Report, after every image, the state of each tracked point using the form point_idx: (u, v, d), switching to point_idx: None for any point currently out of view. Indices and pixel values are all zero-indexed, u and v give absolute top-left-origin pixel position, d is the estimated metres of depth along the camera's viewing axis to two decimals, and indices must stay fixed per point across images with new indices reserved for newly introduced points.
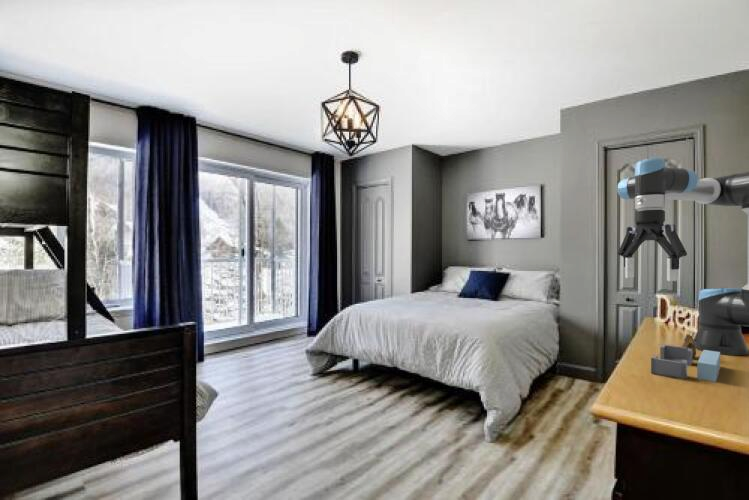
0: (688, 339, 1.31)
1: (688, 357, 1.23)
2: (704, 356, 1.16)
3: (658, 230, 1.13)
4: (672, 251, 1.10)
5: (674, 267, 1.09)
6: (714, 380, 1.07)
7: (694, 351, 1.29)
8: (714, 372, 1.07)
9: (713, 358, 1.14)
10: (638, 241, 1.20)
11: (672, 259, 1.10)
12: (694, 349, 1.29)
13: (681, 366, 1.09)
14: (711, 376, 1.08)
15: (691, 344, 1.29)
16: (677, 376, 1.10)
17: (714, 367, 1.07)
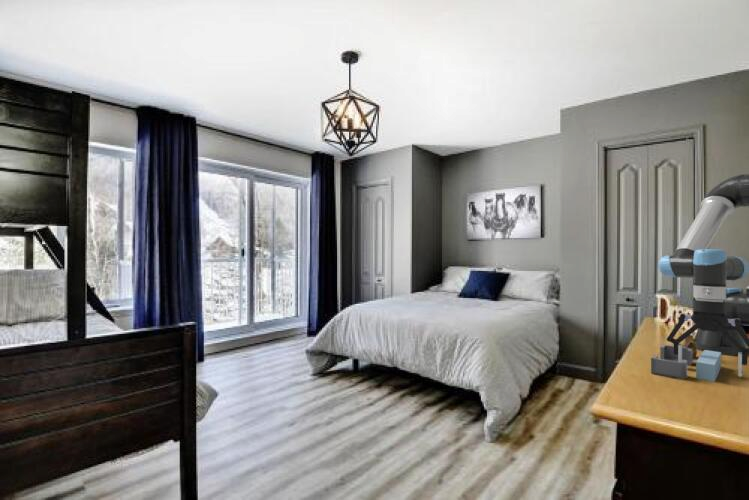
0: (689, 339, 1.31)
1: (688, 357, 1.23)
2: (704, 356, 1.16)
3: (725, 323, 1.12)
4: (742, 346, 1.10)
5: (746, 363, 1.09)
6: (713, 380, 1.07)
7: (695, 351, 1.29)
8: (713, 372, 1.07)
9: (713, 358, 1.14)
10: None
11: (743, 354, 1.10)
12: (695, 349, 1.29)
13: (681, 366, 1.09)
14: (710, 376, 1.08)
15: (692, 344, 1.30)
16: (677, 376, 1.10)
17: (713, 367, 1.07)
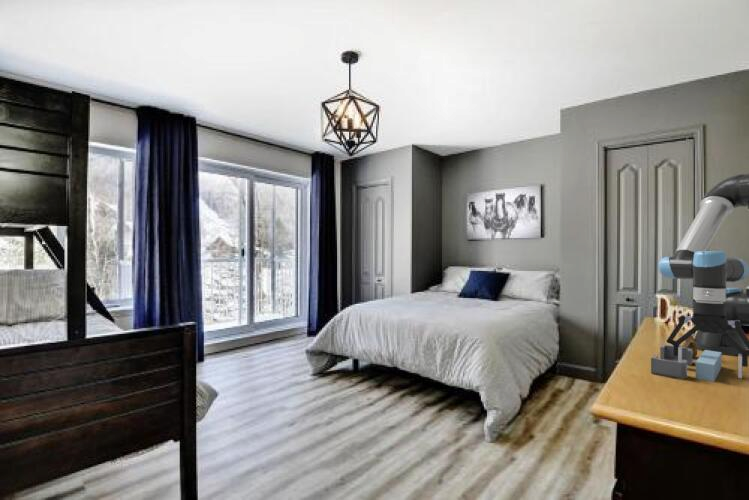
0: (689, 339, 1.31)
1: (688, 357, 1.23)
2: (704, 356, 1.16)
3: (725, 325, 1.12)
4: (742, 348, 1.10)
5: (746, 364, 1.09)
6: (712, 380, 1.07)
7: (695, 351, 1.29)
8: (712, 372, 1.07)
9: (713, 358, 1.14)
10: None
11: (743, 356, 1.10)
12: (695, 349, 1.29)
13: (681, 366, 1.09)
14: (709, 376, 1.08)
15: (692, 344, 1.30)
16: (677, 376, 1.10)
17: (712, 367, 1.07)
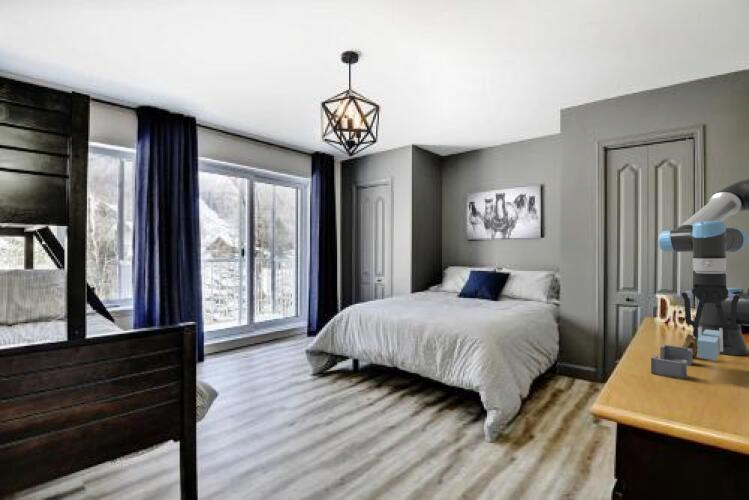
0: (690, 339, 1.31)
1: (688, 357, 1.23)
2: (705, 335, 1.16)
3: (723, 295, 1.13)
4: (726, 322, 1.13)
5: (726, 338, 1.13)
6: (714, 357, 1.07)
7: (695, 351, 1.29)
8: (714, 349, 1.07)
9: (714, 336, 1.14)
10: (703, 305, 1.16)
11: (724, 330, 1.13)
12: (695, 349, 1.29)
13: (681, 366, 1.09)
14: (711, 353, 1.08)
15: (692, 344, 1.30)
16: (677, 376, 1.10)
17: (714, 344, 1.07)
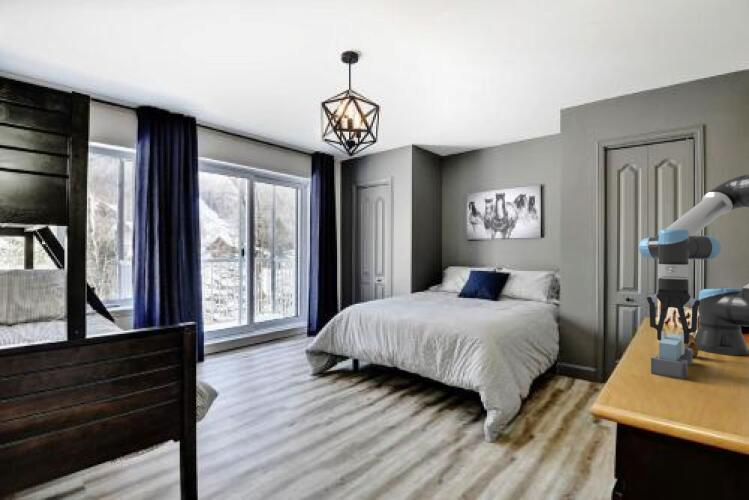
0: (690, 339, 1.31)
1: (688, 357, 1.23)
2: (668, 338, 1.20)
3: (685, 300, 1.17)
4: (687, 327, 1.17)
5: (687, 342, 1.17)
6: (674, 359, 1.11)
7: (696, 351, 1.30)
8: (674, 352, 1.11)
9: (676, 340, 1.18)
10: (667, 309, 1.20)
11: (685, 334, 1.17)
12: (696, 349, 1.30)
13: (681, 366, 1.09)
14: (672, 355, 1.12)
15: (693, 344, 1.30)
16: (677, 376, 1.10)
17: (674, 347, 1.11)
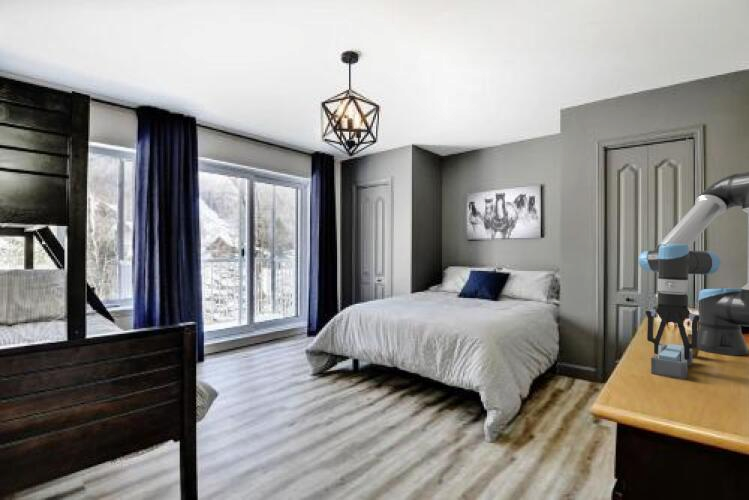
0: (691, 339, 1.31)
1: None
2: (667, 349, 1.20)
3: (685, 315, 1.17)
4: (688, 342, 1.17)
5: (687, 357, 1.17)
6: None
7: (697, 350, 1.30)
8: None
9: (675, 351, 1.18)
10: (665, 324, 1.21)
11: (685, 349, 1.17)
12: (697, 348, 1.30)
13: (681, 366, 1.09)
14: None
15: None
16: (677, 376, 1.10)
17: (674, 359, 1.11)
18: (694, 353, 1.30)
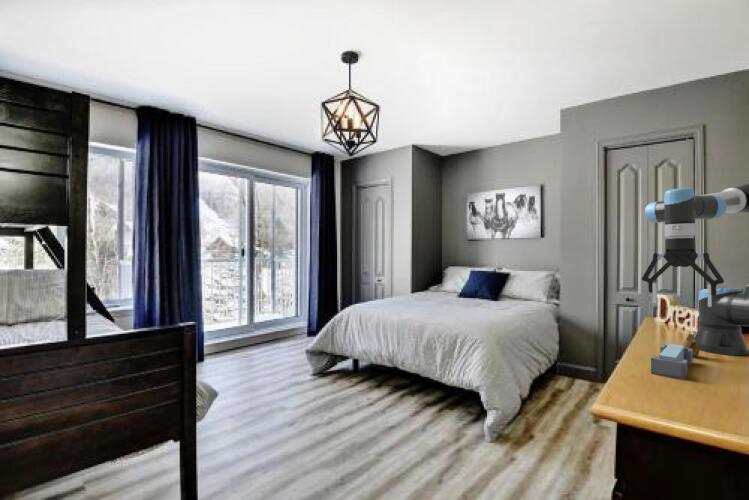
0: (691, 339, 1.32)
1: (688, 357, 1.23)
2: (667, 349, 1.20)
3: (694, 258, 1.18)
4: (711, 278, 1.16)
5: (714, 293, 1.15)
6: None
7: (697, 350, 1.30)
8: None
9: (675, 351, 1.18)
10: (667, 267, 1.23)
11: (712, 286, 1.15)
12: (697, 348, 1.30)
13: (681, 366, 1.09)
14: None
15: (694, 343, 1.30)
16: (677, 376, 1.10)
17: (674, 359, 1.11)
18: (695, 353, 1.31)
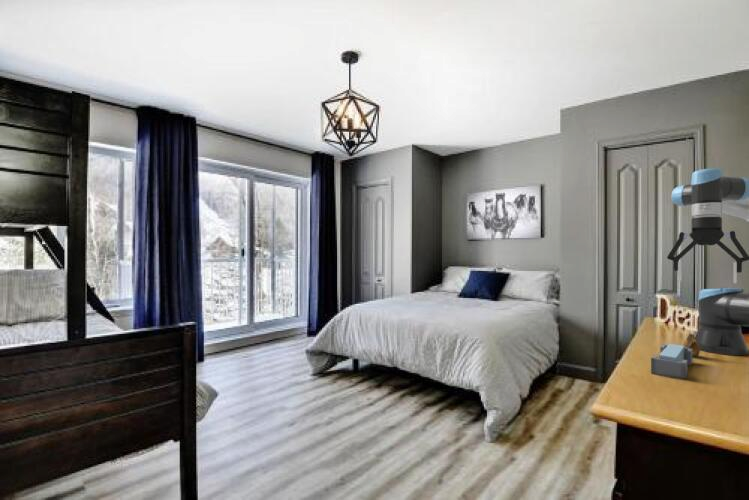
0: (692, 338, 1.32)
1: (688, 357, 1.23)
2: (667, 349, 1.20)
3: (721, 236, 1.21)
4: (737, 256, 1.19)
5: (740, 270, 1.19)
6: None
7: (698, 350, 1.30)
8: None
9: (675, 351, 1.18)
10: (693, 246, 1.26)
11: (738, 263, 1.19)
12: (698, 348, 1.30)
13: (681, 366, 1.09)
14: None
15: (695, 343, 1.31)
16: (677, 376, 1.10)
17: (674, 359, 1.11)
18: (695, 353, 1.31)
